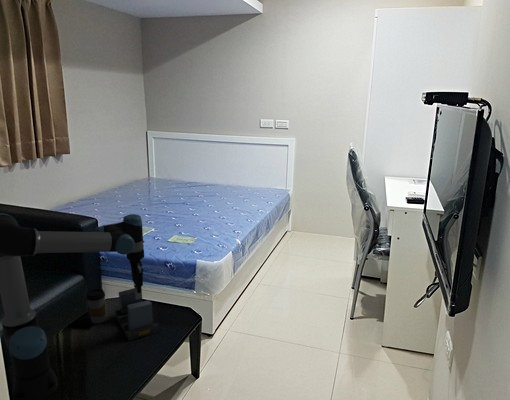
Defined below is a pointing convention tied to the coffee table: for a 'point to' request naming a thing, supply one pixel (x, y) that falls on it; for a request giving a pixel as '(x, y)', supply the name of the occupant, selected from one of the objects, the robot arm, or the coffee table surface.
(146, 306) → the gray rectangular block
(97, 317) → the coffee cup
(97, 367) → the coffee table surface
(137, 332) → the rack
